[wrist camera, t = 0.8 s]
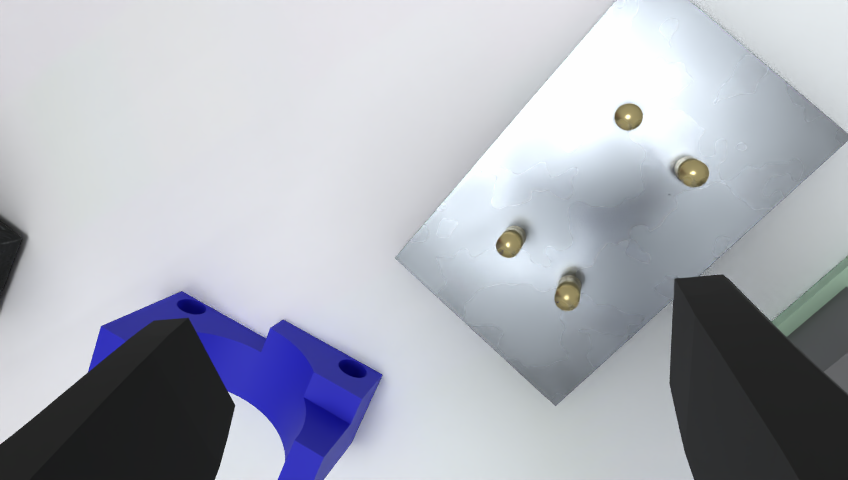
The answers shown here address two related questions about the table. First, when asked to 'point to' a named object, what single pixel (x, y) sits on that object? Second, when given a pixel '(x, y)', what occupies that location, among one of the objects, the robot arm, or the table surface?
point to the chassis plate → (616, 189)
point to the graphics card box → (7, 251)
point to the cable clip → (272, 379)
